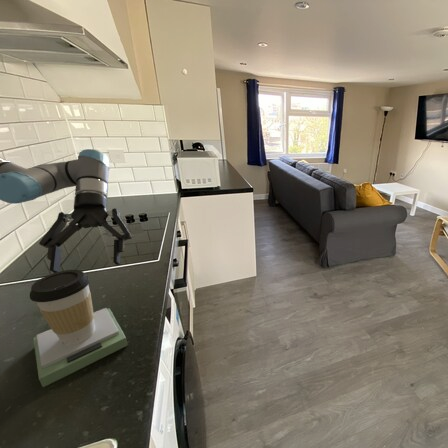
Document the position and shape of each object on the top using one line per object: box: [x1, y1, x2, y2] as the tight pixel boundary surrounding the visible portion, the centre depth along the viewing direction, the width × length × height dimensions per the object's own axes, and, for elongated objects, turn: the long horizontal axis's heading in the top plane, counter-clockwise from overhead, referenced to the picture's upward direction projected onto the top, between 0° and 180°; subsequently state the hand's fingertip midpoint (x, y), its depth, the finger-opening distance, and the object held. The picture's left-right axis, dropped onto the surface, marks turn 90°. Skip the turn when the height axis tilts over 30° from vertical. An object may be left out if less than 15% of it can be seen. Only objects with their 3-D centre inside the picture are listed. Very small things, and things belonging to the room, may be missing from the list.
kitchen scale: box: [32, 307, 129, 388], centre depth 61 cm, size 15×15×3 cm
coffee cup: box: [29, 269, 95, 345], centre depth 58 cm, size 10×10×15 cm
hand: (86, 267), depth 69 cm, fingers open, 13 cm apart
